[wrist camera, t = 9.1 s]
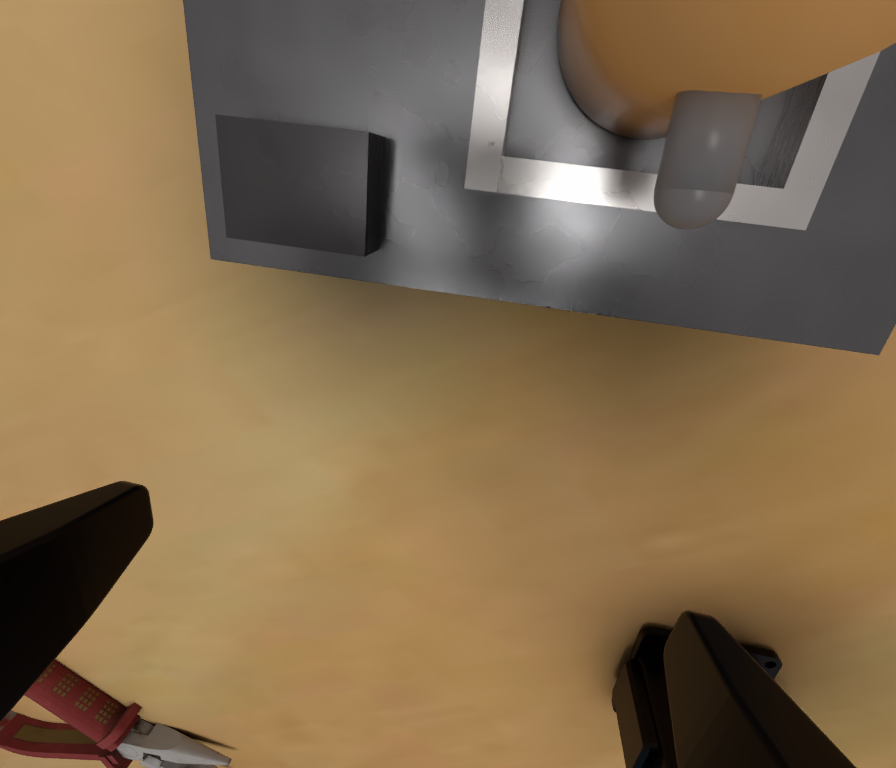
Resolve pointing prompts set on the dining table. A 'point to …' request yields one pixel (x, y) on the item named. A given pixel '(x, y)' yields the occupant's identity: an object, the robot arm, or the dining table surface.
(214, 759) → the pliers
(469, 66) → the sink basin plate
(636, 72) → the cylinder
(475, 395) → the dining table surface
